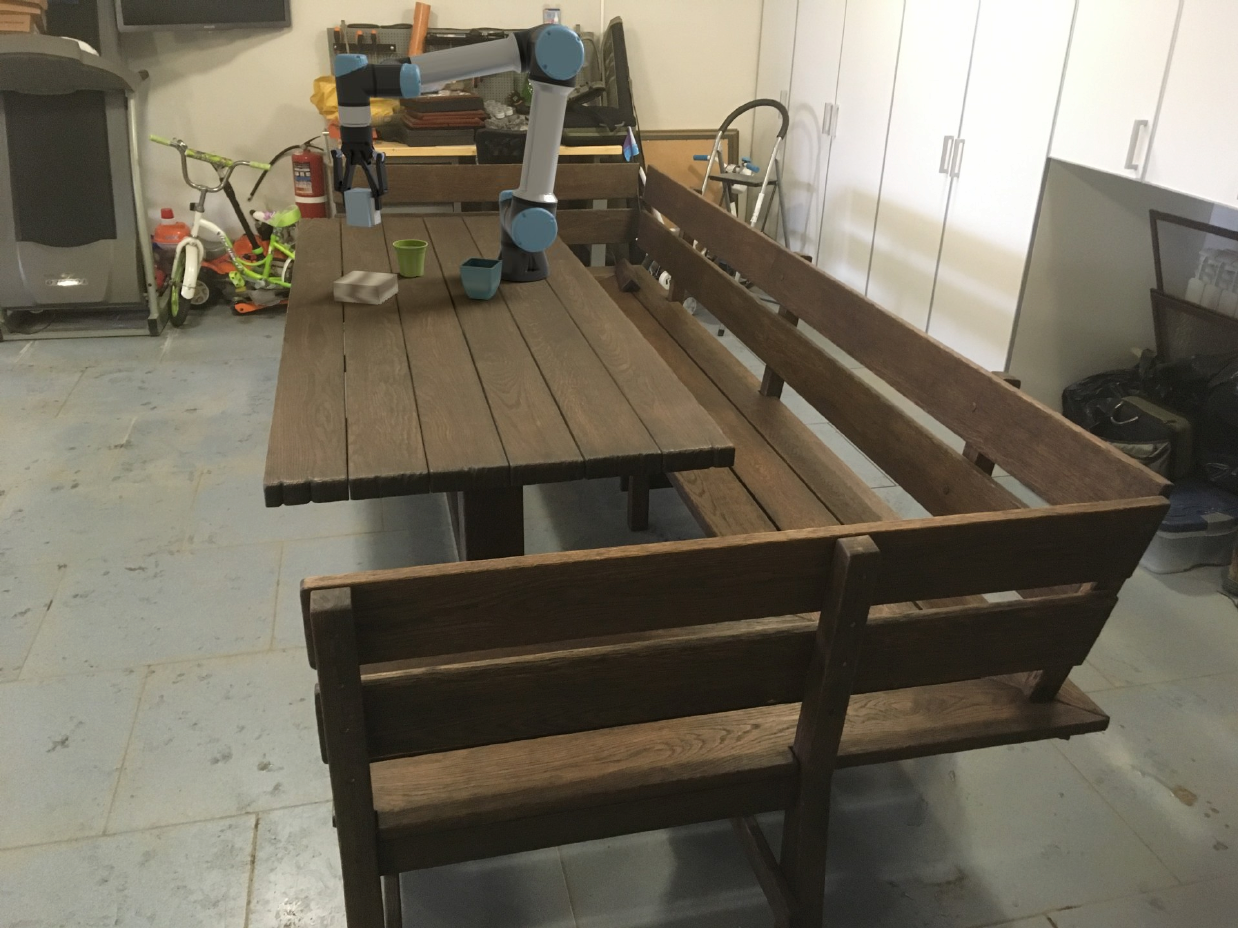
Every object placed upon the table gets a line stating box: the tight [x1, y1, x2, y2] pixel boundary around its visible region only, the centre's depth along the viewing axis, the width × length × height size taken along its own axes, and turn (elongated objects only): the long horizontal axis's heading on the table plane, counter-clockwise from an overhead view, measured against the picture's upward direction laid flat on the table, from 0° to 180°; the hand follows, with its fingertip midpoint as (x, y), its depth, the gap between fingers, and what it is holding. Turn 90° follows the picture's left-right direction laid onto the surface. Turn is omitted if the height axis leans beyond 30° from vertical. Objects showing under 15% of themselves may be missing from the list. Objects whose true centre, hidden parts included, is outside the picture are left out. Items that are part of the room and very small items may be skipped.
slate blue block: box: [344, 187, 382, 228], centre depth 243 cm, size 6×6×8 cm
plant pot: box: [392, 239, 429, 278], centre depth 270 cm, size 9×9×9 cm
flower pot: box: [458, 257, 502, 301], centre depth 252 cm, size 9×9×9 cm
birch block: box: [332, 270, 399, 305], centre depth 251 cm, size 12×12×5 cm
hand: (363, 222), depth 245 cm, fingers closed on slate blue block, 6 cm apart
